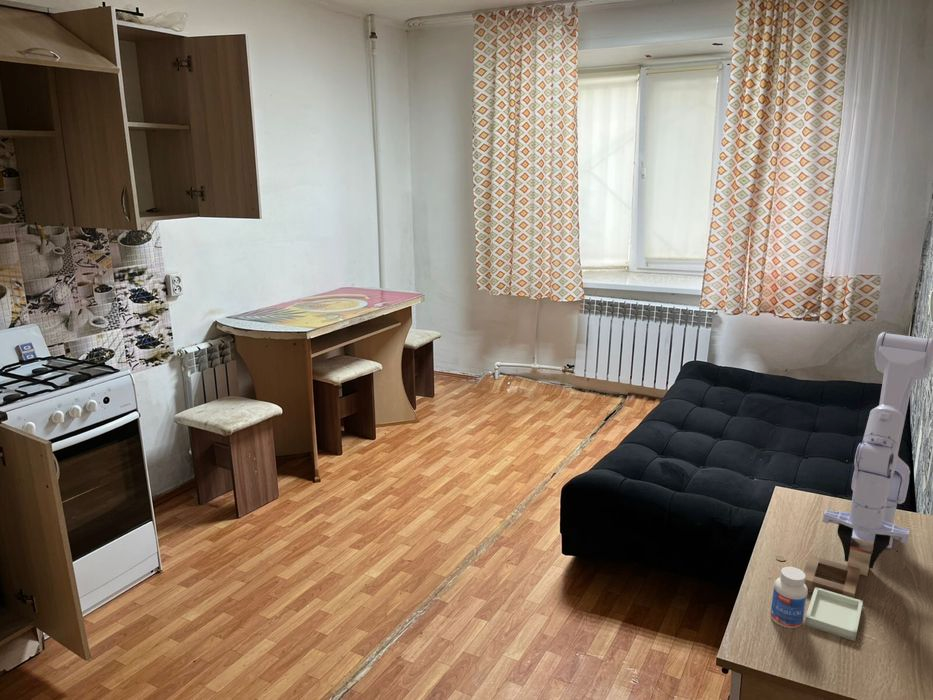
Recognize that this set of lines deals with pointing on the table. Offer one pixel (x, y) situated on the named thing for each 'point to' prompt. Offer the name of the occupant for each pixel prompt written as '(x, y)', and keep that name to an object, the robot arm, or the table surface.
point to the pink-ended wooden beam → (860, 555)
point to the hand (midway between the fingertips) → (858, 562)
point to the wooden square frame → (831, 570)
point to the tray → (834, 613)
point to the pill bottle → (789, 598)
